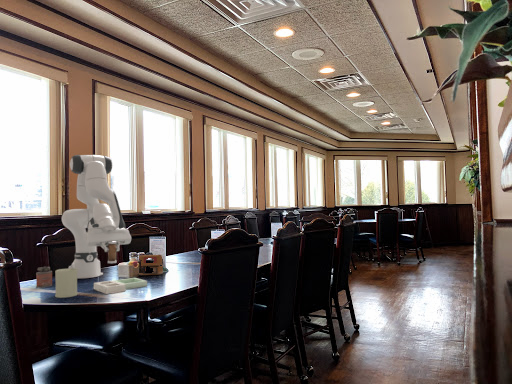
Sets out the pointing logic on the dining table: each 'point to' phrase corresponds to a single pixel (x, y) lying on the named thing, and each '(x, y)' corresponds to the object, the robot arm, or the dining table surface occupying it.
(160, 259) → the condiment caddy
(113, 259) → the fuse
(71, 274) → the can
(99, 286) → the white shallow tray
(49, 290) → the dining table surface
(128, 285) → the parts tray
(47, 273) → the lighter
